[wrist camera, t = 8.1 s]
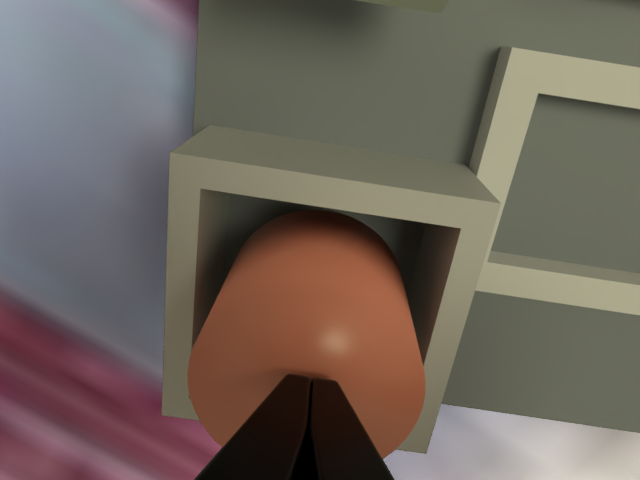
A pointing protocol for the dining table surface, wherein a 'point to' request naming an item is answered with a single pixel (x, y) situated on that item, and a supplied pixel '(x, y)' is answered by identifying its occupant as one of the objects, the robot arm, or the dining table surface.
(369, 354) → the red button
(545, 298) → the panel
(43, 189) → the dining table surface
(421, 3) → the green rocker
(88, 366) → the dining table surface
